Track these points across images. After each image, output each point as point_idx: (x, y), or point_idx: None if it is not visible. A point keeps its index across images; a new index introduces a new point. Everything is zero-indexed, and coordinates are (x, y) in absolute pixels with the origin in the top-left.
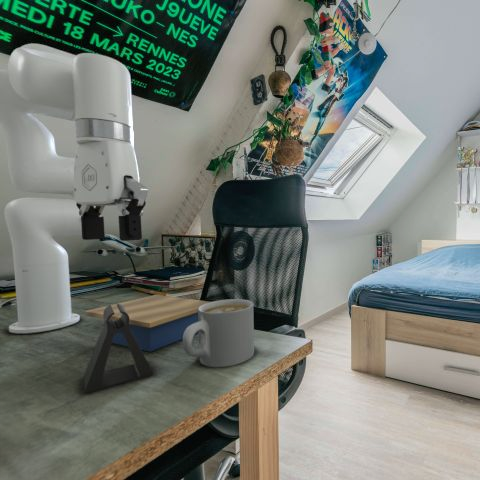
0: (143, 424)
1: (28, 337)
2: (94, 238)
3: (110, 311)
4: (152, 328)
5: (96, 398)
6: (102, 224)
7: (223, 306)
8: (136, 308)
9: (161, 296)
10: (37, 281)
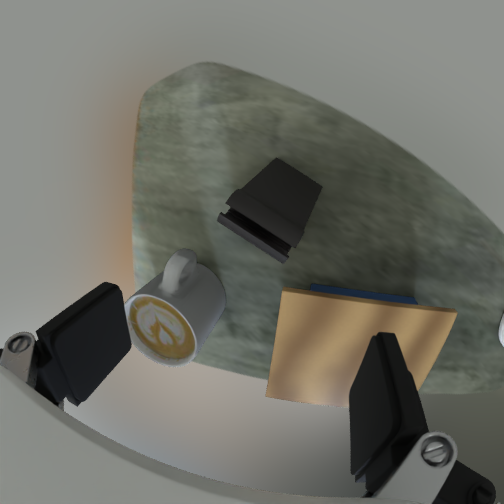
0: (157, 141)
1: None
2: (362, 363)
3: (247, 211)
4: None
5: (251, 154)
6: (352, 441)
7: (185, 350)
8: None
9: None
10: None
